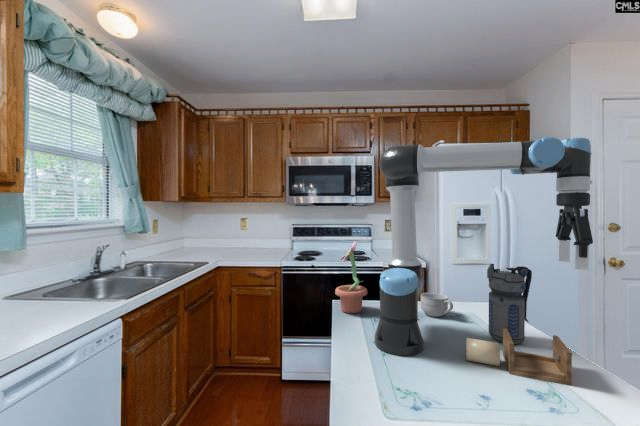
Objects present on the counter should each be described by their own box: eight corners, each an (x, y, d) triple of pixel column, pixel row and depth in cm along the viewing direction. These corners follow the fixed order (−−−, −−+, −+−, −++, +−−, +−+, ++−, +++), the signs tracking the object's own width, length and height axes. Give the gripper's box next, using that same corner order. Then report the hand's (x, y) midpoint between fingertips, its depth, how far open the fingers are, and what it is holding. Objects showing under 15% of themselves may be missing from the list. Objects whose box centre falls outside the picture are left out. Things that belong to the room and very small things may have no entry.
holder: (509, 373, 78) (509, 343, 78) (502, 355, 88) (503, 328, 88) (571, 385, 73) (571, 353, 73) (557, 364, 83) (557, 335, 83)
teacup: (415, 311, 126) (415, 292, 126) (436, 308, 129) (436, 290, 129) (437, 323, 113) (437, 302, 113) (460, 320, 116) (460, 299, 116)
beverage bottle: (539, 347, 93) (540, 267, 93) (494, 344, 95) (494, 266, 95) (522, 333, 103) (522, 262, 103) (481, 331, 105) (481, 261, 105)
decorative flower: (337, 304, 136) (337, 238, 136) (367, 305, 134) (367, 239, 134) (333, 315, 121) (333, 242, 121) (367, 317, 119) (367, 242, 119)
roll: (466, 364, 84) (466, 344, 83) (465, 352, 89) (465, 333, 88) (500, 370, 80) (500, 349, 80) (497, 358, 86) (497, 338, 85)
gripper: (610, 189, 74) (609, 274, 74) (572, 194, 97) (571, 259, 97) (572, 190, 77) (571, 271, 77) (544, 194, 100) (543, 257, 100)
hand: (571, 265), depth 87 cm, fingers open, 13 cm apart
